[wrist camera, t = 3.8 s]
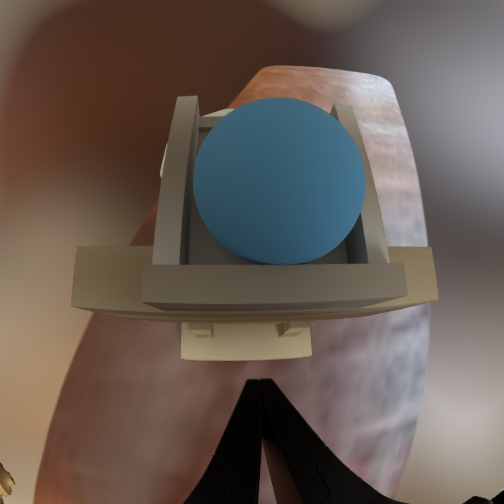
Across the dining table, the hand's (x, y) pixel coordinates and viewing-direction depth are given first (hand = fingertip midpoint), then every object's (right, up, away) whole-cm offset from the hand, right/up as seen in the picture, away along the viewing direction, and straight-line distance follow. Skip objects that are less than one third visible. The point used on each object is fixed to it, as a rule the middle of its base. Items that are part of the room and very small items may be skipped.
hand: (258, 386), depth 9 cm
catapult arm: (0, +3, +7) cm, 8 cm away
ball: (0, +6, -4) cm, 7 cm away
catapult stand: (-1, -1, +10) cm, 11 cm away
